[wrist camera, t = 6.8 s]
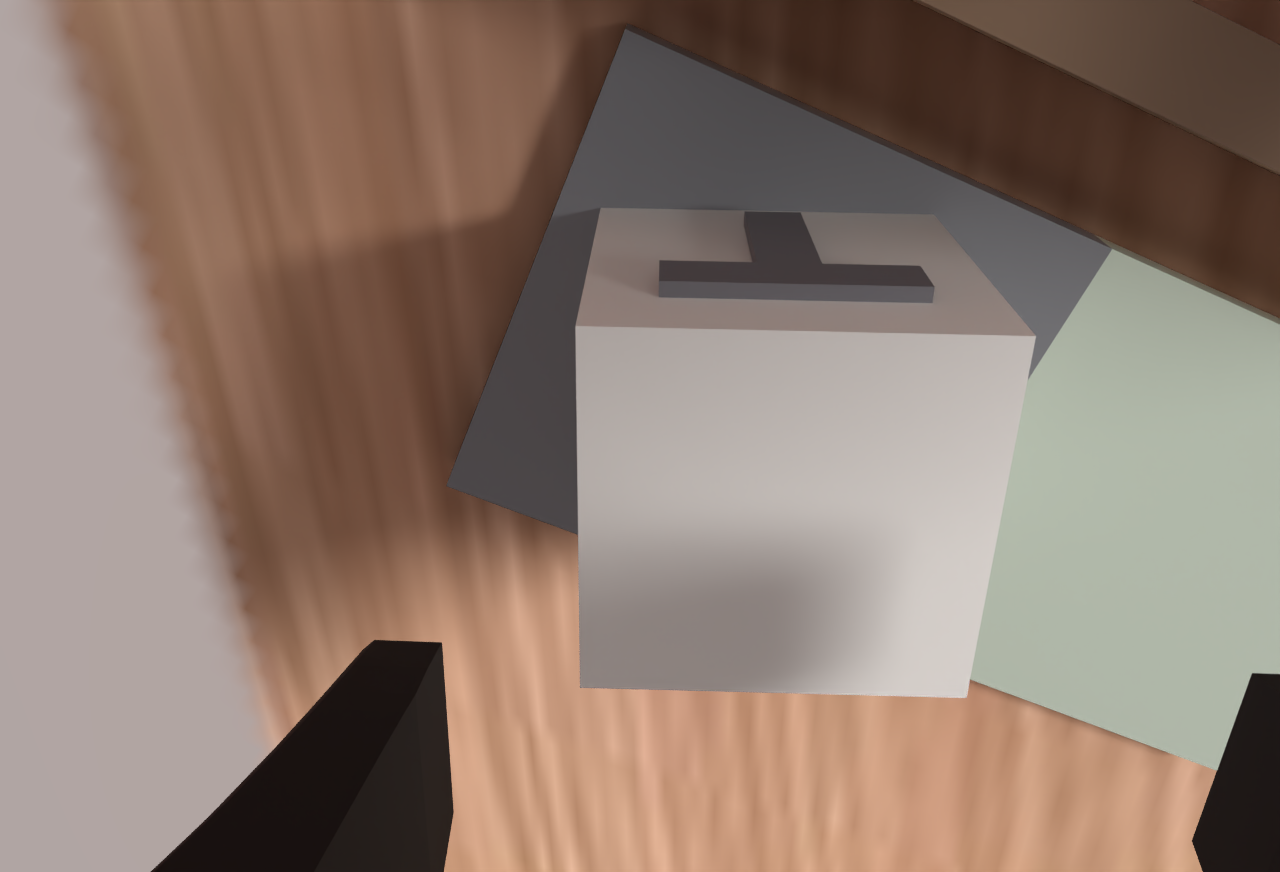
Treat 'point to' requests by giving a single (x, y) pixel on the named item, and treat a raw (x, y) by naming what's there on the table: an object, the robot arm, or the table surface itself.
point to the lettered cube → (789, 451)
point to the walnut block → (1151, 61)
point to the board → (1050, 419)
